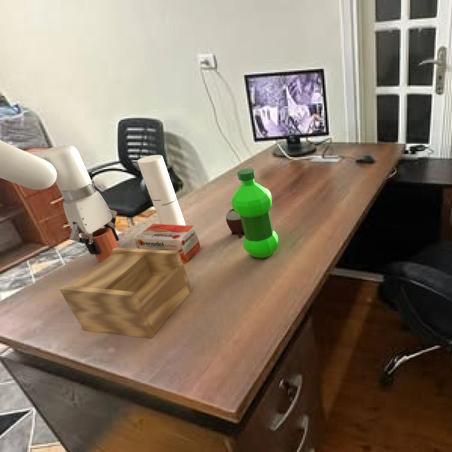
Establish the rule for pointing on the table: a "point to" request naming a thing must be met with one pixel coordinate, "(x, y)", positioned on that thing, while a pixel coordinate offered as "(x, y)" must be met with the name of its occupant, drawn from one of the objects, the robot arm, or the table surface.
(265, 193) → the plastic bottle
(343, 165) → the table surface
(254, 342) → the table surface
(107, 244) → the jar
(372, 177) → the table surface
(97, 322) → the wooden crate
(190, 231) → the medicine box
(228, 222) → the mate gourd
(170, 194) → the cylindrical container
